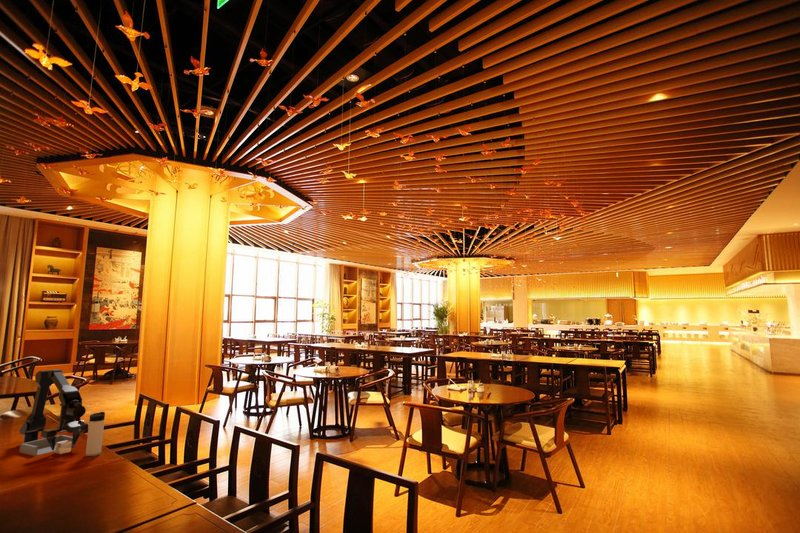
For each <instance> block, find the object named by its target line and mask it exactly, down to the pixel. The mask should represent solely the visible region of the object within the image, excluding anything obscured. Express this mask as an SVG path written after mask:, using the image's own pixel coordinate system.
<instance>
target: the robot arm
mask: <svg viewBox="0 0 800 533" xmlns="http://www.w3.org/2000/svg"><path fill="white" fill-rule="evenodd" d="M34 378H35V379H34V381H35V384H36V385H37V388H36V394H35V397H34V401H33V404H32V409H31V413H30V414H29V415H28V416H27V417H26V418H25V421H24V423H23V424H22V426H21V427H20V428H19V434H20V435H23V442H22V443H26V442H31V441H35V440H39V439H38V438H39V432H40V437H43V439H45V438H46V439H47V441H48V442H49V445H50V447H51V449H52V450H54V448H55V439H56V437H57V436H58V434H61V433H65V432H67V433H68V434H72V437H73V439H72V443H73V445H75V443H76V444H77V441H78V440H79V438H80V436H81V434H83V433H84V432H86V431H87V430H88V428H89V423H87V422H85V420H84V419H83V420H82V419H81V420H78V421H77V420H76V419H77V418H78V419H79V418H81V417H83V416H85V414H86V411H87V410H86V407H85V406H83V398H82V396H81V392H80V391H79V390H78V388H76V387H75V386H73V385H70V382H68V380H67V378H66V376H65V375H64V374H63V369H61V368H60V369H59V368H58V369H46V370H45V369H44V370H43V369H42V370H39V371H37V372H35V374H34ZM53 384H54V386H55V388H56V389H57V390H58V399H59V401H60V404H59V406H60V412H59V413H60V414H59V417H58V418H57V420H58V426H56V429H54V428H48V429H45V427H46V424H47V422H46V421H47V417H46V416H45V414H44V412H45V406H46V402H47V399H48V394H49V389H50V387H51V386H52V385H53Z"/></svg>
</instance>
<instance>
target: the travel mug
mask: <svg viewBox="0 0 800 533" xmlns="http://www.w3.org/2000/svg"><path fill="white" fill-rule="evenodd" d="M105 417H106V412H105V411H100V412H95V413H92V414H89V421H88V425H89V427H88V429H87V440H86V448H85V457H87V456H93V457H97V455H98V456H100V455H101V454H102V445H103V440H104V429H105V428H104V427H105Z"/></svg>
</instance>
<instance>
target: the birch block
mask: <svg viewBox="0 0 800 533" xmlns="http://www.w3.org/2000/svg"><path fill="white" fill-rule="evenodd" d="M71 444H72V441H68V440H65V441H61V442H57V443H56V450H55V451H54V452H55V454H58V455H62V454H66V453H67V454H68V453H70V452H71V451H72V447H71Z"/></svg>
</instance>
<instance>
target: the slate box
mask: <svg viewBox="0 0 800 533" xmlns="http://www.w3.org/2000/svg"><path fill="white" fill-rule="evenodd" d="M56 436H57V437H56V439H55V448H54V450H52V449H51V447H50V445H49V442H48V441H47V439H46V438H41V439H40V438H39V439H38V440H35V441H31V442H26V443H23V442H22V443H20V444H19V453H21V454H25V455H29V456H33V457H36V456H39V455H44V454H47V453H52V452H55V450H56V443H57V442H61V441H65V440H68V441H72V439H73V436H70V435H67V434H60V435H58V434H57V435H56ZM76 446H77V442H76V443H75V445H73V443H72V444H71V448H72V447H76Z"/></svg>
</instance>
